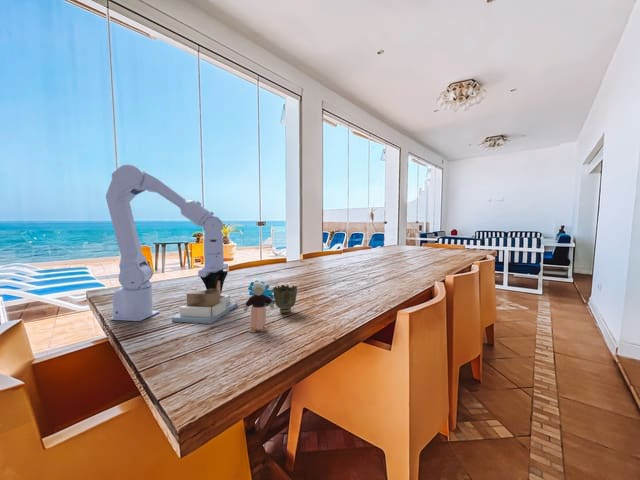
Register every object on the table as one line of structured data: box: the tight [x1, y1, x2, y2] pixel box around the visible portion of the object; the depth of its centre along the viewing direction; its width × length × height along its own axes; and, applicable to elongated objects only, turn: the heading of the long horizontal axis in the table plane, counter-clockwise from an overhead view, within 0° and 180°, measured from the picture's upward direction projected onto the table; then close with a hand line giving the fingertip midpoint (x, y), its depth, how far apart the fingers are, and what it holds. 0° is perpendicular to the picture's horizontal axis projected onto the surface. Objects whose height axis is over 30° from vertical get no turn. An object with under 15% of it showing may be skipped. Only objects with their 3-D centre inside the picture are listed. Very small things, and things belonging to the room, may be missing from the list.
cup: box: [272, 284, 298, 315], centre depth 80 cm, size 8×7×8 cm
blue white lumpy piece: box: [247, 280, 274, 306], centre depth 92 cm, size 11×6×10 cm
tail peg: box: [217, 280, 222, 299], centre depth 85 cm, size 3×3×6 cm
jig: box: [171, 294, 238, 324], centre depth 80 cm, size 12×16×4 cm
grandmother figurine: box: [243, 281, 275, 334], centre depth 67 cm, size 8×4×13 cm, turn 117°
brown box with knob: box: [186, 288, 219, 315], centre depth 78 cm, size 8×4×7 cm, turn 82°
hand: (215, 294), depth 85 cm, fingers closed on tail peg, 3 cm apart
